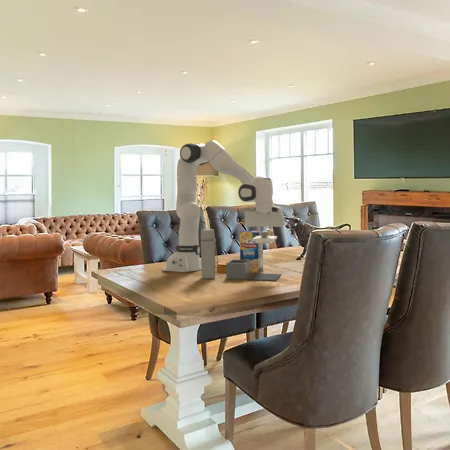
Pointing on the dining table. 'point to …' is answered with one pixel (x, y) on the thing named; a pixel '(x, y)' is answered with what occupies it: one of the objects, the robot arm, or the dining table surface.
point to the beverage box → (251, 250)
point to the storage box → (238, 269)
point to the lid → (264, 238)
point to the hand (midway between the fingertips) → (264, 235)
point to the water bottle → (208, 253)
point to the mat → (264, 277)
